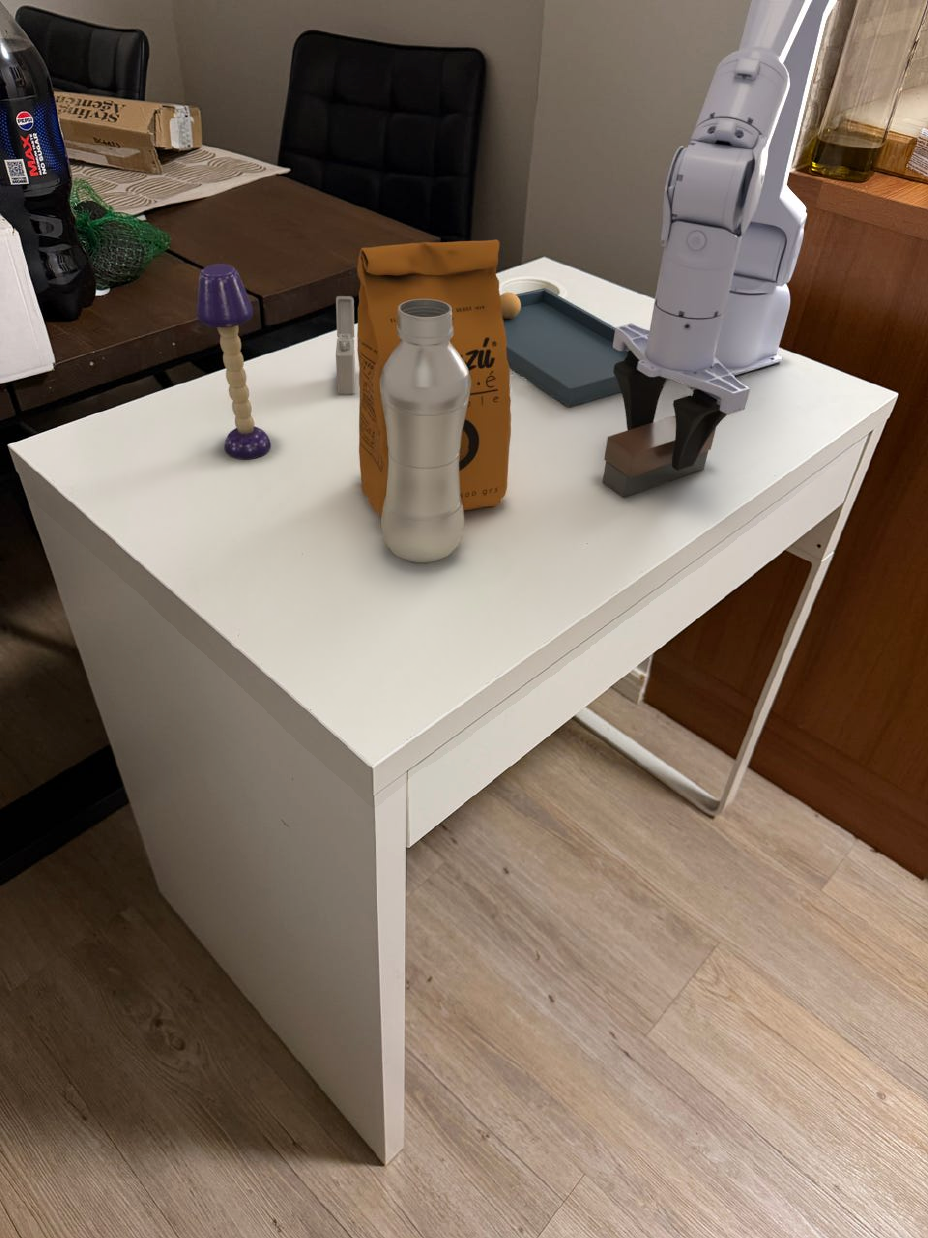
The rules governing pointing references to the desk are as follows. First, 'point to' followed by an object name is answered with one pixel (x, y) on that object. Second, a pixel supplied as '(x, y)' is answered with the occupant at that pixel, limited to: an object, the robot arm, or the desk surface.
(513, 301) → the wooden bead
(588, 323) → the tray
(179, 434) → the desk surface
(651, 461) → the brush
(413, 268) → the coffee package
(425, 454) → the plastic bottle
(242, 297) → the toy lamp
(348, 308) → the lighter
